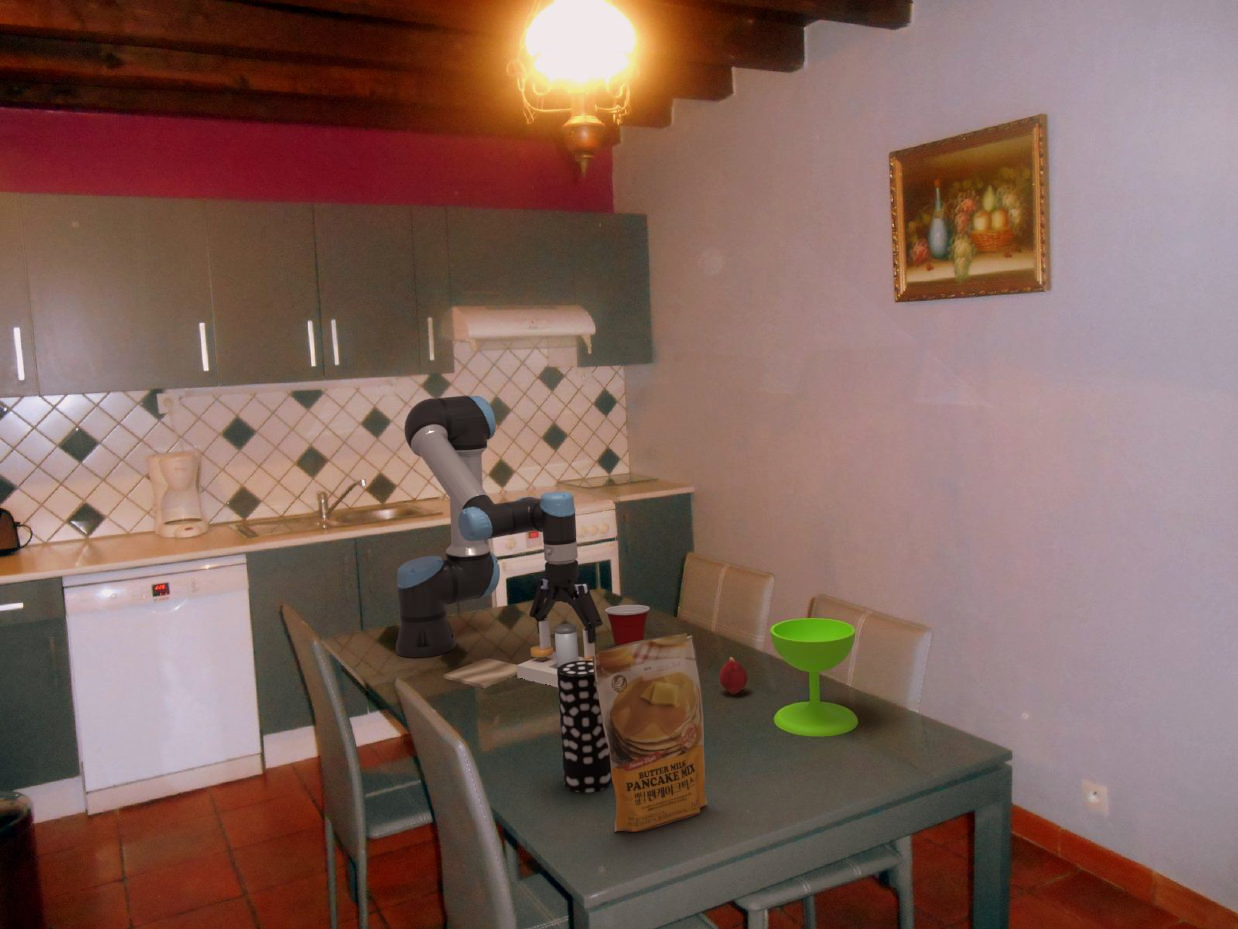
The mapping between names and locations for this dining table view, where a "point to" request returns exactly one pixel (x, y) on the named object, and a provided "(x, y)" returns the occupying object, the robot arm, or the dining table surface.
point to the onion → (733, 676)
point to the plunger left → (541, 653)
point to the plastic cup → (627, 623)
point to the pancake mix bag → (653, 729)
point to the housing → (540, 670)
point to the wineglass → (814, 673)
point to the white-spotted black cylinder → (582, 729)
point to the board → (483, 673)
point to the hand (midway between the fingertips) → (567, 652)
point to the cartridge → (566, 643)
